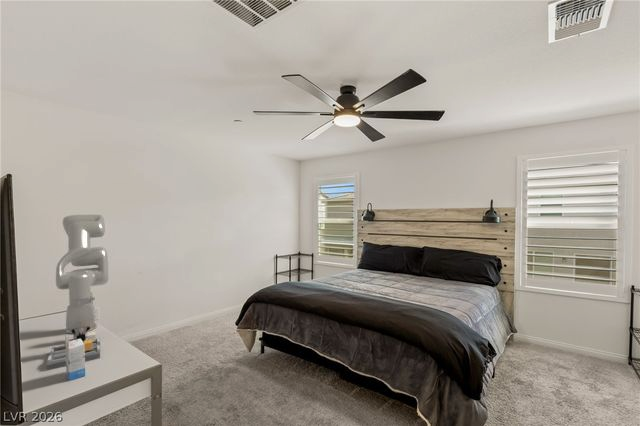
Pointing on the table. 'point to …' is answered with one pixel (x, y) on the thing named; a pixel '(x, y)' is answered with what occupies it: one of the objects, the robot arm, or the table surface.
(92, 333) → the block
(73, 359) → the ink box
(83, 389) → the table surface
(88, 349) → the block
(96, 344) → the console
